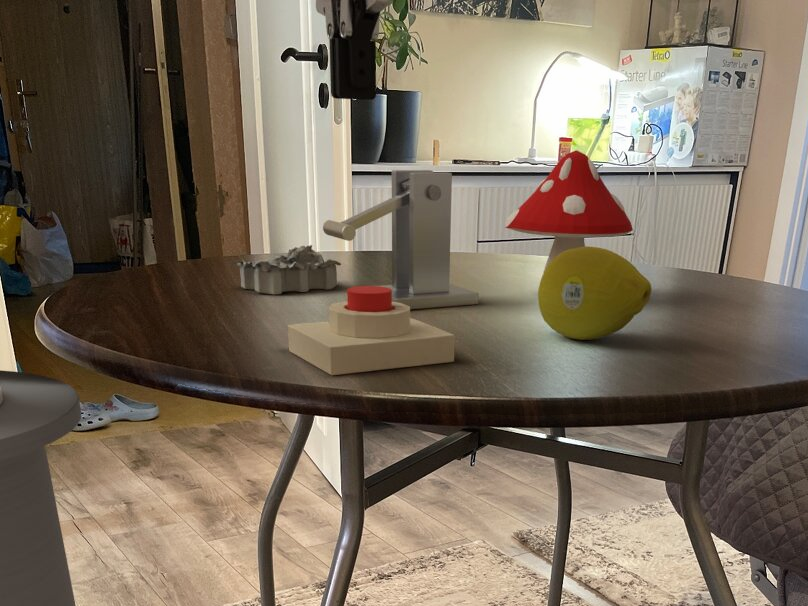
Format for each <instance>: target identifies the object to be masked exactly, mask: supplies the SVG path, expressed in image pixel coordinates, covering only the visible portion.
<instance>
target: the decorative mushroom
mask: <svg viewBox="0 0 808 606" xmlns="http://www.w3.org/2000/svg"><path fill="white" fill-rule="evenodd" d="M625 211H626V210H625V207H624V205H623V203H622V202H621V201H620V199H619V198H618V197H617V196H616V195H615V194H613V193H611V192H610V190H609V188H608V187H607V186H606V185H605V182H604V181H603V179H602V178H601V175H600V174H599V171H598V169H597V167H596V164H595V163H594V162H593V161H592V160H591V158H590V157H588V155H587V154H585V153H583V152H581V151H579V150H577V149H576V150H573V151H571V152H568V153H566V154H565V155H564V156H563V157H561V158H560V159H559V161H558V162H557V164H556V165H555V166H554V167H553V168H552V170H551V171H550V172H549V174H548V176H546V178H543V180H541V181H540V182H539V184H538V185H537V188H536V189H535V191H534V192H533V193H532V194H531V195H530V196H529V197H528V198H527V199H526V201H524V202H523V203H522V204H521V205H520V206H518V208H517V209H516V210H514V211H513V212H511V214H510V215H509V216H508V218H507V219H506V221H505V225H504V228H505V229H508V230H509V229H510V230H512V231H515V232H518V233H523V234H530V235H537V236H545V237H554V239H553V241H552V242H553V243H552V246H551V249H550V252H549V254H548V257H547V260H546V263H545V266H544V269H543V273H544V271H545V269H546V268H547V266H548V265H549V263H550V262H551V261H552V260H553V259H554V258H555V257H557V256H558V255H559V254H560V253H562V252H564V251H566V250H569V249H573V248H578V247H586V245H585V238H587V239H589V238H591V239H593V238H614V237H624V236H626V235H628V234H630V233H631V232H632V231H634V228H633V225H632V222H631V219H629V217H628V216H627V214H626V212H625ZM543 273H542V274H543Z"/></svg>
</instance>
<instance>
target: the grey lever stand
mask: <svg viewBox="0 0 808 606" xmlns="http://www.w3.org/2000/svg"><path fill="white" fill-rule="evenodd" d="M408 180H410V203H409V205H405V206H403V207H401V208H399V209H397V210H395V211H393V212H391V284H383V285H379V286H380V287H386V288H390V289H391V290H392V302H399V303H402V304H404V305H407V306H409V307H410V311H412V310H423V309H433V308H434V309H437V308H447V307H459V306H460V307H461V306H471V305H472V306H473V305H479V298H480V297H479V292H477V291H474V290H471V289H467V288H465V287H461V286H458V285H455V284H451V283H450V276H451V275H450V274H451V270H450V269H451V235H452V234H451V231H452V230H451V229H452V228H451V226H452V192H453V191H452V190H453V189H452V187H453V173H452V172H446V171H445V172H434V171H433V170H430V169H392V170H391V198H393V197H395V196H397V195H399V194H401V193H403V192H404V189H403V186H402V183H404V182H406V181H408Z"/></svg>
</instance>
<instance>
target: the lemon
mask: <svg viewBox="0 0 808 606" xmlns="http://www.w3.org/2000/svg"><path fill="white" fill-rule="evenodd" d="M544 269H545V268H544ZM543 272H544V273H542V276H541V278H540V281H539V285H538V292H537V293H538V294H537V299H538V300H537V301H538V307H539V311H540V313H541V317H542V319H543V321H544V322H545V323H546V324H547V325H548V326H549V327H550V329H552V330H553V331H554V332H556V333H558V334H560V335H562V336H564V337H566V338H569V339H572V340H580V341H581V340H582V341H591V340H597V339H601V338H604V337H607V336H611V335H613V334H615V333H617V332H619V331H620V330H622V329H624V328H625V327H626V326H627V325H628V324H629V323H631V322H632V320H633V319H634V317H635V316H637V315H638V314H640V313H641V312H642V311H643V309H644V308H645V307H646V305H647V304H648V302H649V301H650V297H651V294H652V284H651V282H650V280H649V279H648V278H647V277H646V276H644V275H643V274H642V273H641V272H640V271H639V270H638V268H637V267H636V266H635V265H634V264H633V263H632V262H631V261H629V260H628V259H626V258H624V257H623V256H621V255H619V254H617V253H616V252H614V251H612V250H610V249H607V248H603V247H597V246H589V245H588V246H585V247H578V248H573V249H569V250H566V251H564V252H562V253H560V254H559V255H558V256H557V257H555V258H554V259H553V260H552V261H551V262H550V263H549V265H548V266H547V268H546V269H545V271H544V270H543Z"/></svg>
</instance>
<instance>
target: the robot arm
mask: <svg viewBox="0 0 808 606" xmlns="http://www.w3.org/2000/svg"><path fill="white" fill-rule="evenodd" d="M391 3H392V0H315V9H316V12H317V13H318V14H320V15H322V16H323V17H325V29H326V37H327V38H328V40H329V43H328V44H329V67H330V68H329V71H330V72H329V74H330V75H329V77H330V95H331V97H332V98H333V99H339V100H359V101H363V100H365V101H366V100H368V101H371V100H372V101H373V100H374V99H375V98H376V96H377V42H376V41H377V40H378V38H379V33H380V17H381V16H380V15H381V12H382V11H384V10H385V9H386V8H387V7H388V6H390V5H391ZM2 402H3V395H2V390H1V387H0V405H1V404H2Z"/></svg>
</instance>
